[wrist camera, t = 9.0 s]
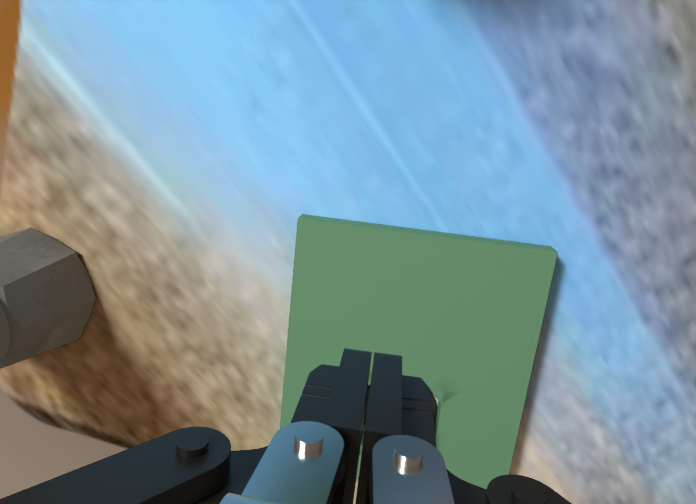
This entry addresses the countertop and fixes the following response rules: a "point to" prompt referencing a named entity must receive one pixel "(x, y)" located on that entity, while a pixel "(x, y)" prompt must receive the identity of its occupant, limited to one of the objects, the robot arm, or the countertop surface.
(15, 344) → the coffeepot
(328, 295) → the putting board
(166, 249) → the countertop surface
